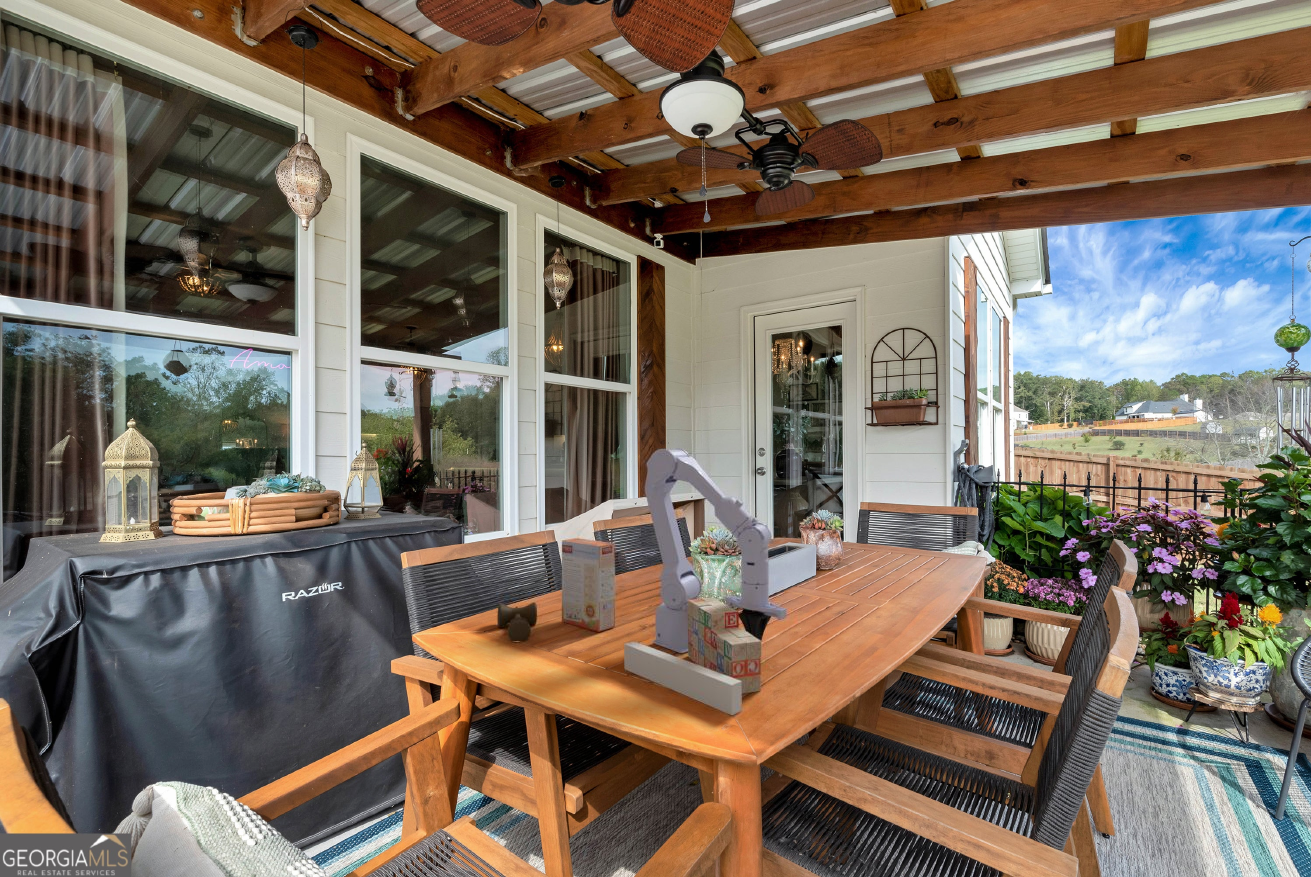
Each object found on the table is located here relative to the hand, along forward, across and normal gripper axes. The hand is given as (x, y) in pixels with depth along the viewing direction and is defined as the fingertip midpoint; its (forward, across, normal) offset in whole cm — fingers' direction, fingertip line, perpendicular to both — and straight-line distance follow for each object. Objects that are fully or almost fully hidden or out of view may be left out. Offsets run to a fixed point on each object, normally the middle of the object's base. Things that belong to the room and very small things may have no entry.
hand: (755, 646), depth 125 cm
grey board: (+2, 0, +23) cm, 23 cm away
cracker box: (+3, +43, +12) cm, 45 cm away
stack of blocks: (+3, 0, +11) cm, 11 cm away
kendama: (+3, +52, +27) cm, 58 cm away
